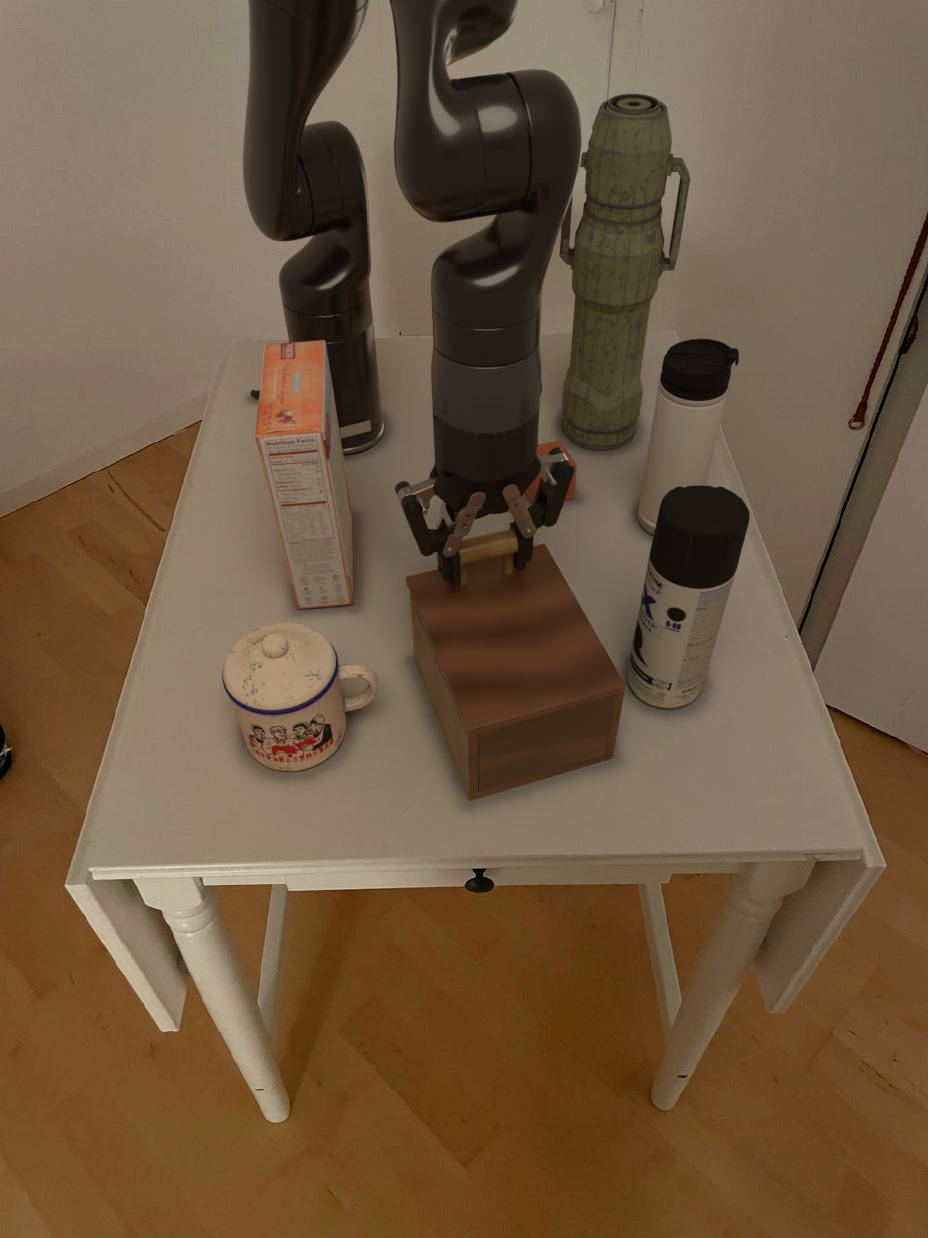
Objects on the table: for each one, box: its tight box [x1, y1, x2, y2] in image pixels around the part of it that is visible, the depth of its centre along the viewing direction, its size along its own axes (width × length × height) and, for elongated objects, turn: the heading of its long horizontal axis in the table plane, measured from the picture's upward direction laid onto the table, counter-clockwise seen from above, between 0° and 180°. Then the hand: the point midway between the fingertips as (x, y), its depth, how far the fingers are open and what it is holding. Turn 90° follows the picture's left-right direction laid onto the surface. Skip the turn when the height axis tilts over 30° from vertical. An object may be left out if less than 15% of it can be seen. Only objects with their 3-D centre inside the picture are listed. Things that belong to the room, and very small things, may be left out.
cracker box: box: [254, 340, 355, 610], centre depth 85 cm, size 14×6×21 cm, turn 5°
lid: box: [405, 528, 626, 736], centre depth 72 cm, size 16×13×5 cm
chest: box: [409, 593, 625, 801], centre depth 77 cm, size 16×13×9 cm
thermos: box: [558, 93, 691, 452], centre depth 95 cm, size 9×12×35 cm
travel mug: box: [637, 338, 740, 536], centre depth 89 cm, size 6×7×20 cm
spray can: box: [627, 485, 751, 710], centre depth 74 cm, size 7×7×20 cm
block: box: [524, 439, 578, 506], centre depth 98 cm, size 5×5×5 cm
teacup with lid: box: [221, 622, 379, 772], centre depth 74 cm, size 12×9×12 cm
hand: (484, 570), depth 76 cm, fingers closed on lid, 5 cm apart
